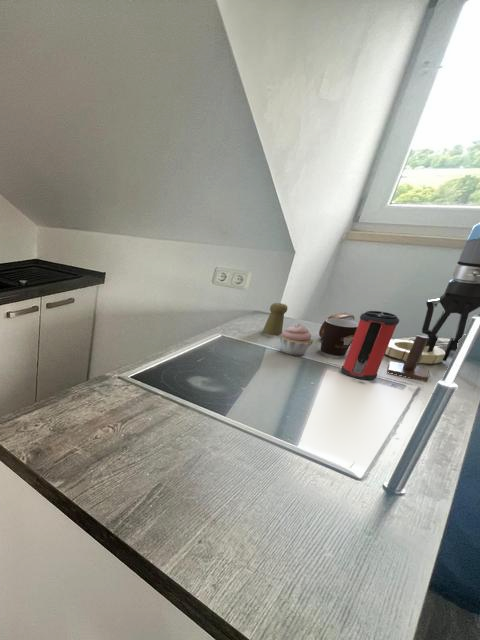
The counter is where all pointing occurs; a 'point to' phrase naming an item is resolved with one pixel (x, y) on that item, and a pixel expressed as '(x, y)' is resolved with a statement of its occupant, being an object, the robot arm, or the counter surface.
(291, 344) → the cupcake
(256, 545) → the counter surface
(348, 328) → the coffee mug
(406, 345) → the tape
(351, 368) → the speaker
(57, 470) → the counter surface
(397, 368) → the peg stand
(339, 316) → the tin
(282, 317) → the cork
